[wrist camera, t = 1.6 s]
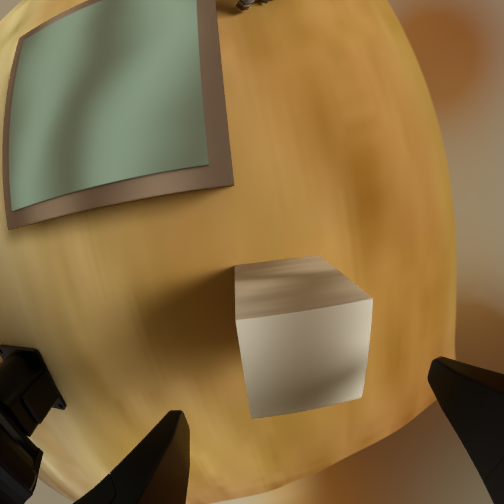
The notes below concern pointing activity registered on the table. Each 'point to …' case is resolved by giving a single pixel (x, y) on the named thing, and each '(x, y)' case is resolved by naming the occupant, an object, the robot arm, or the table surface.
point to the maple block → (300, 335)
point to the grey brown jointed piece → (246, 4)
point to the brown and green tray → (114, 108)
